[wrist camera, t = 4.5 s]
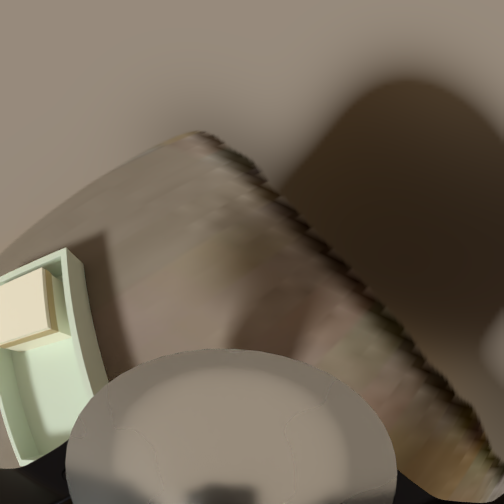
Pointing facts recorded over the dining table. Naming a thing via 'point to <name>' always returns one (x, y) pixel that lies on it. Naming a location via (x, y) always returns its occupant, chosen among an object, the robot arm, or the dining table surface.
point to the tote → (51, 369)
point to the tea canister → (229, 436)
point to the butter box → (33, 311)
